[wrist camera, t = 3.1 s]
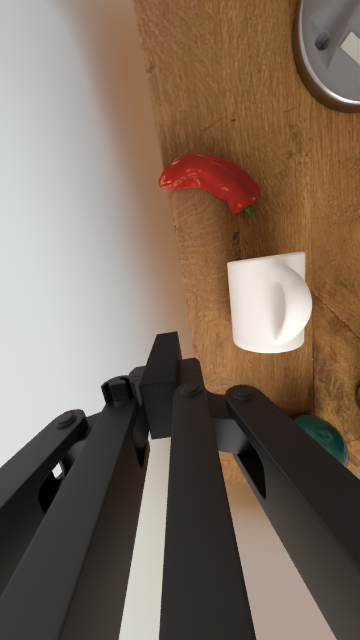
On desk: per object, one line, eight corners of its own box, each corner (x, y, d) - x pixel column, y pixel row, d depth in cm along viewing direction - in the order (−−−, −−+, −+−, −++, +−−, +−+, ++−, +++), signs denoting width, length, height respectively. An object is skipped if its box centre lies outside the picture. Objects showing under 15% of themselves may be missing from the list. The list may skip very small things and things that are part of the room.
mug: (227, 333, 30) (255, 375, 19) (221, 263, 28) (249, 259, 16) (283, 326, 30) (348, 364, 18) (282, 253, 27) (356, 244, 16)
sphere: (290, 396, 33) (324, 437, 25) (332, 413, 33) (378, 457, 26) (266, 434, 34) (290, 482, 27) (306, 449, 35) (341, 500, 27)
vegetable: (241, 233, 27) (157, 190, 25) (261, 192, 26) (174, 145, 24) (254, 225, 22) (154, 174, 21) (279, 176, 21) (175, 117, 20)
